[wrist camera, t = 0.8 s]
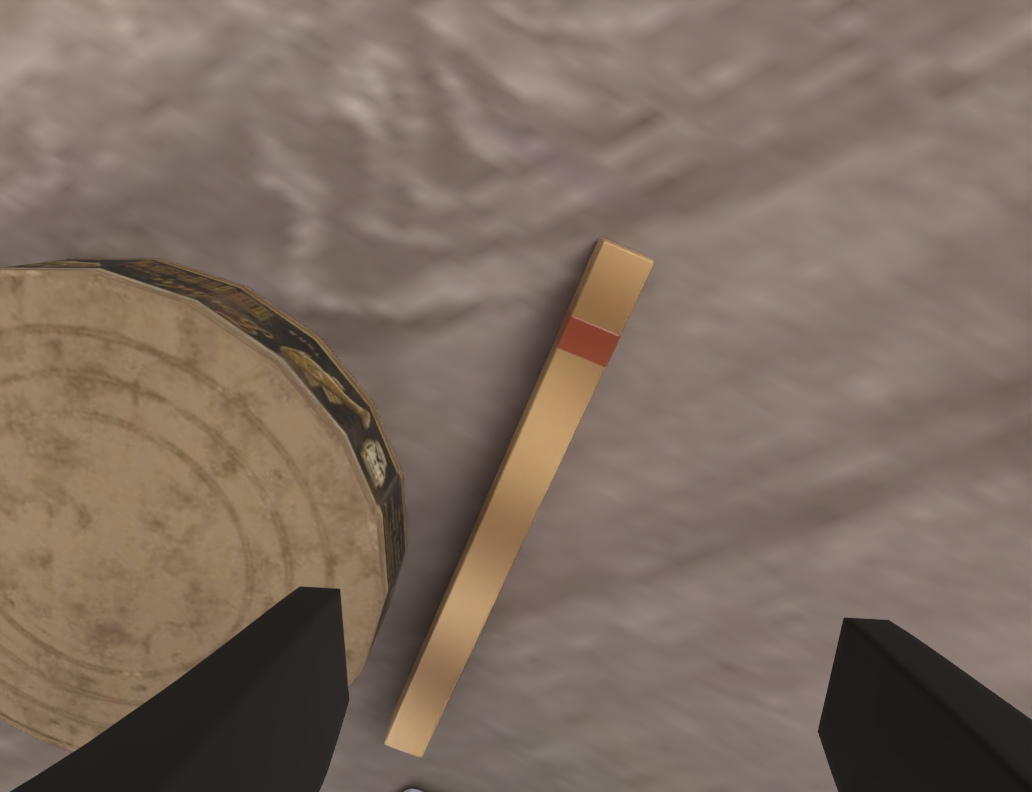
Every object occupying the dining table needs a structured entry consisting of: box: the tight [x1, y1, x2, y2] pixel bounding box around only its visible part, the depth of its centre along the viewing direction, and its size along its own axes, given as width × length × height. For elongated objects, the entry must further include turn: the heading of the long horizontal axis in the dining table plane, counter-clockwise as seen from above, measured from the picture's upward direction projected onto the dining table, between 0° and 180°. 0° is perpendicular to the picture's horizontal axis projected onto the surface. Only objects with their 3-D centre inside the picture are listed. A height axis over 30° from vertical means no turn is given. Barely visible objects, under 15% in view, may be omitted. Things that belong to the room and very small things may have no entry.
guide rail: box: [384, 237, 654, 757], centre depth 19 cm, size 18×1×2 cm, turn 158°
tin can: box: [0, 258, 408, 751], centre depth 18 cm, size 16×16×3 cm
